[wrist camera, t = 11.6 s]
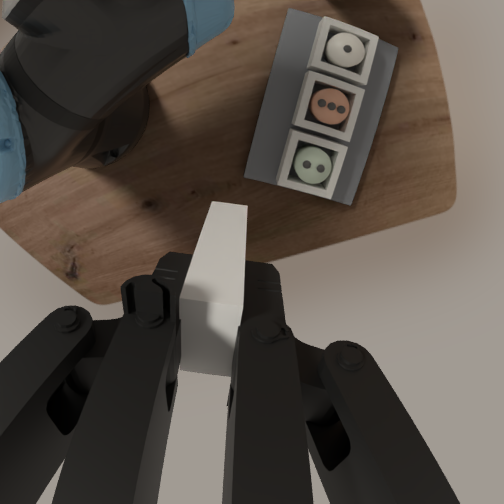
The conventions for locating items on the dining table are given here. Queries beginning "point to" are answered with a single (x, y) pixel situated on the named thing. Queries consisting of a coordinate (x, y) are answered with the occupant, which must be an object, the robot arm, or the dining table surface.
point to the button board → (299, 117)
